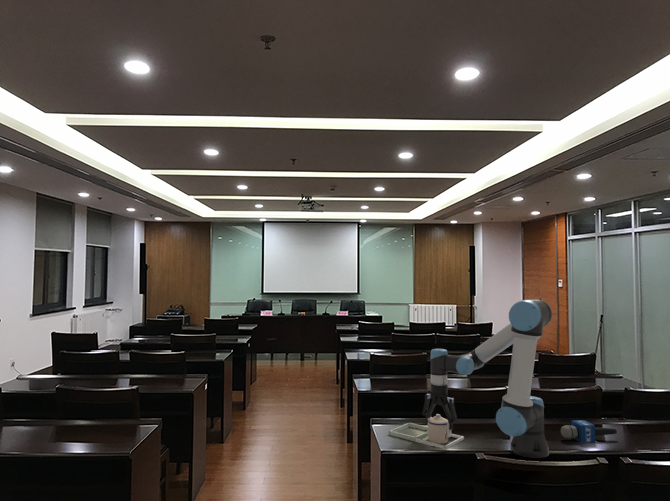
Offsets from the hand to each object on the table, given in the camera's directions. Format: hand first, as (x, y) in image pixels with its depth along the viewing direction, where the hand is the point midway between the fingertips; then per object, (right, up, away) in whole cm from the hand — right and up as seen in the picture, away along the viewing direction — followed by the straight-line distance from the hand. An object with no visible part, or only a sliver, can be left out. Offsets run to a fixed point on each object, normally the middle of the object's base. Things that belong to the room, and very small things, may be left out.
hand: (439, 434), depth 218 cm
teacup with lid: (-1, -3, 0) cm, 3 cm away
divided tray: (-5, -3, +4) cm, 7 cm away
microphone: (+68, -3, +2) cm, 68 cm away
